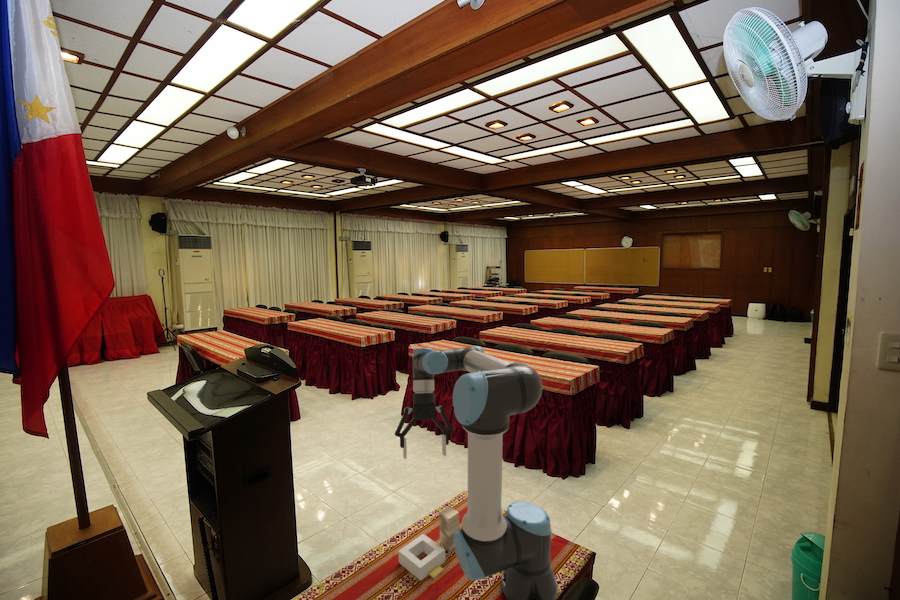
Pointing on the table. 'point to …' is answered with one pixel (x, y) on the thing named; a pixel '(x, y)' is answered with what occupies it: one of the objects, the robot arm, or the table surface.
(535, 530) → the robot arm
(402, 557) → the socket block
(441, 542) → the beech peg
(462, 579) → the table surface
